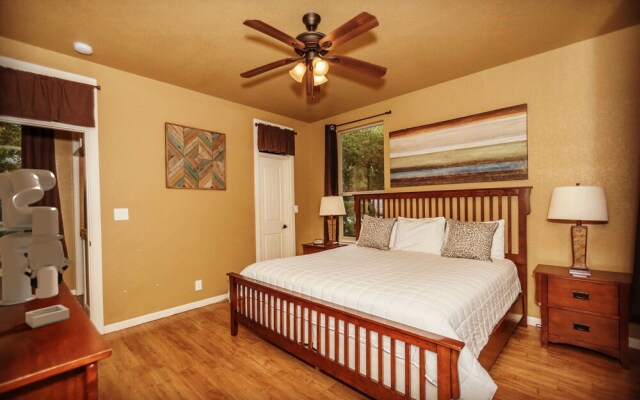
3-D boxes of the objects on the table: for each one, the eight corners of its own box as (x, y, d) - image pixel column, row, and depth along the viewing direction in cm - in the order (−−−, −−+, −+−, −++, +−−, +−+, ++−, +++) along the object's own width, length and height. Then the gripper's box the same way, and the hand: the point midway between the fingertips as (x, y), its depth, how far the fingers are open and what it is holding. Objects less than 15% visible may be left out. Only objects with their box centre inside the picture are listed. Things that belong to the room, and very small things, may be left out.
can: (44, 299, 112) (43, 267, 112) (31, 298, 114) (30, 266, 114) (62, 293, 119) (62, 263, 119) (49, 293, 120) (48, 263, 120)
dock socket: (25, 322, 115) (25, 312, 115) (60, 313, 123) (60, 304, 123) (33, 328, 109) (33, 318, 109) (69, 318, 118) (69, 309, 118)
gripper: (70, 236, 125) (71, 279, 125) (11, 241, 111) (13, 290, 111) (77, 237, 121) (78, 281, 121) (16, 242, 107) (18, 293, 107)
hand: (47, 285), depth 116 cm, fingers closed on can, 6 cm apart
